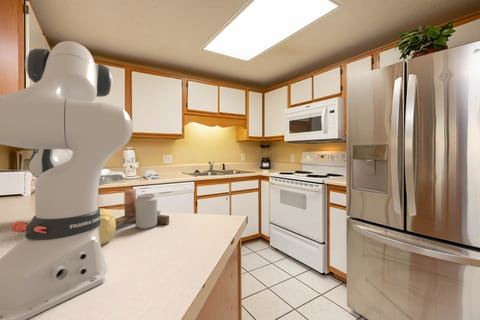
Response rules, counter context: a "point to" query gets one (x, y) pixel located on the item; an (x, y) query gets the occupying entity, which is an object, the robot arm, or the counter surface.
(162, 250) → the counter surface
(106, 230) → the pale yellow rounded lump
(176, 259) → the counter surface
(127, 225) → the rail
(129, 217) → the brown wooden stand
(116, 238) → the counter surface
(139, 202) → the can
